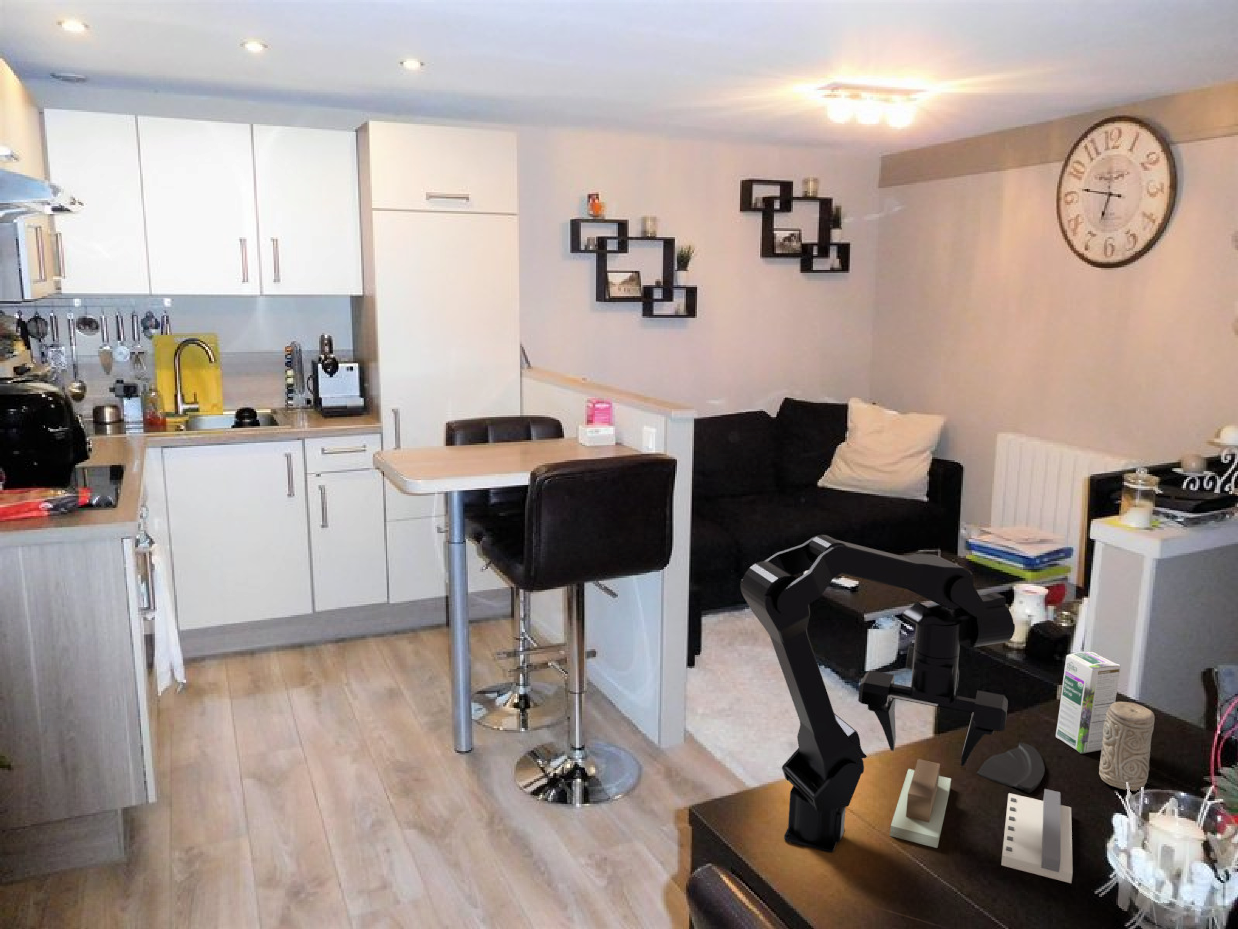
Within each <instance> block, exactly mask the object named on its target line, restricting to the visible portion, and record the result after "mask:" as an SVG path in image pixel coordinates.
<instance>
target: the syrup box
mask: <svg viewBox="0 0 1238 929" xmlns="http://www.w3.org/2000/svg"><path fill="white" fill-rule="evenodd" d="M1120 671H1121V664H1118V663H1116V662H1114V661H1111V660H1110V659H1107V658H1105V657H1104V656H1101V655H1099V654H1097V653H1096V652H1095V651H1080V652H1075V653H1074V652H1073V653H1069V654H1067V655H1066V656H1065V665H1064V671H1063V672H1064V673H1063V679H1062V689H1061V695H1060V703H1059V711H1058V717H1057V725H1056V731H1055V738H1057V739H1058V740H1060V741H1062V742H1063V743H1065V744H1066V745H1068V746H1069V747H1071V748H1073V749H1074V750H1075V751H1077V752H1078V753H1079V754H1086V753H1093V752H1097V751H1101V750H1102V746H1103V744H1102V741H1103V727H1104V722H1105V718H1106V712H1107V711H1108V708H1109V707H1110V706H1111V704H1113V703H1115V702H1117V701H1116V699H1117V698H1116V697H1117V693H1118V686H1119V678H1120Z"/></svg>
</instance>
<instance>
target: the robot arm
mask: <svg viewBox="0 0 1238 929" xmlns="http://www.w3.org/2000/svg"><path fill="white" fill-rule="evenodd" d="M803 572H806V573H804V574H803V575H801V576H799V577H796V576H795V575H798V574H801V573H803ZM840 575H845V576H849V577H853V578H858V579H861V580H865V581H866V580H867V581H871V582H875V583H880V584H884V585H888V586H892V587H894V588H895V587H896V588H900V589H904V590H909V591H910V592H912V593H914V594H916V595H919V597H923V598H925V599H927V600H928V601H930V602H933V603H935V604H934V605H926V604H924V603H921V602H919V601H915V602H914V604H913V605H911V606H910V607H909V608H907V609H906V610H904V611H903V612H902V617H903V618H904V619H906V620H907V621H910V622H911V623H912V624H915V632H914V635H915V636H914V643H913V644H914V646H908V647H907V655H906V662H905V669H907V670H911V681H910V682H911V683H910V686H907V685H902V684H896V683H895V682H896V681H895V680H896V679H895V674H891V673H886V672H880V671H876V670H875V671H874V670H869V671H867V672H866V673H865V674H864V676H863V677H862V680H861V682H860V684H859V689H858V697H857V698H858V699H857V700H858V701H857V702H859V703H860V704H862V705H867V710H868V711H871V712H873V713H874V714H875V715H876V716H875V717H876V718H877V719H878V721H879V723H880V726H881V727H882V729H883V730H882V731H883V733H884V735H885V738H886V741H887V743H888V746H889V747H888V748H889V750H890V751H892V752H894V751H895V747H896V738H897V736H896V732H897V731H896V730H897V729H896V711H895V710H896V700H901V701H905V702H910V703H915V704H920V705H924V706H926V705H927V706H931V707H936V708H941V709H947V710H951V711H957V712H961V713H962V712H963V713H965V714H966V713H967V714H970V715H971V718H970V722H969V726H968V730H967V734H966V736H965V741H964V745H963V749H962V752H961V753H962V754H961V759H960V766H961V767H965V766H966V763H967V762H968V760H969V758H970V756H971V755H972V752H973V751H974V749H975V747H976V746H977V745H978V743H979V742H980V741H981V740H982V738H983V737H984V736H986V735H988V736H992V735H994V731H996V732H1004V731H1005V729H1006V722H1007V721H1006V720H1007V714H1008V712H1007V711H1008V705H1009V704H1008V702H1009V701H1008V699H1007V697H1006V696H1005V695H1004V694H998V693H992V692H989V691H982V690H977V691H976V695H975V698H970V697H966V696H965V697H964V696H960V695H956V692H957V691H958V687H959V678H960V677H959V676H960V670H959V659H960V658H959V656H960V647H961V644H962V645H963V646H964V647H966V648H976V647H983V646H990V645H996V644H997V645H998V644H1003V643H1007V642H1009V641H1011V639H1012V638H1013V636H1014V635H1015V630H1016V625H1015V623H1014V618H1013V615H1012V613H1011V611H1010V609H1009V608H1008V607H1007V605H1006V601H1007V599H1006V597H1005V596H1004V595H1001V594H999V593H997V592H990V593H987V594H984V595H980V594H979V593H978V592H979V591H977V589H976V588H975V586H974V584H975V583H974V578H973V573H972V572H971V570H969V569H967V568H965V567H963V566H961V565H959V564H957V563H954V562H952V561H950V560H948V559H945V558H943V557H941V556H939V555H936V554H927V553H926V554H924V553H922V554H920V553H914V554H911V555H900V554H899V555H898V554H895V553H890V552H886V551H883V550H878V549H874V548H872V547H871V548H870V547H868V546H867V547H866V546H862V545H858V544H855V543H851V542H848V541H847V542H846V541H842V540H839V539H836V538H833V537H831V536H829V535H827V534H820V535H818V534H817V535H815V536H813V537H811V538H810V539H808V540H807V541H805V542H804V543H802V544H799V545H797V546H794V547H790V548H788V549H784V550H781V551H778V552H776V553H774V554H773V555H772V556H769V558H767V559H765V560H764V561H762V560H761V561H759V562H756V563H754V564H752V565H751V566H750V567H749V568H747V571H745V573H744V575H743V577H742V579H741V580H740V592H741V594H742V596H743V599H745V601H746V604H747V605H748V607H749V608H750V610H751V612H752V613H753V615H754V616H755V617H756V618H757V620H758V621H759V623H760V624H761V625H762V626H763V629H765V631H766V632H767V634H768V635H769V637H770V640H771V644H772V646H773V649H774V652H775V654H776V657H777V661H778V663H779V666H780V668H781V672H782V674H783V675H782V676H783V677H784V681H785V684H786V686H787V689H788V691H789V694H790V698H791V700H792V702H793V705H794V706H793V707H794V708H795V711H796V714H797V717H798V719H799V724H800V725H799V729H798V732H797V737H796V738H797V745H798V748H797V749H796V750H795V751H794V752H793V753H792V754H791V756H790V757H789V758H788V759H787V760H786V761H785V762H784V763H783V765H782V766H781V769H782V773H783V776H784V778H785V780H786V781H788V782H789V783H790V784H791V786H792V787H791V789H790V792H789V804H788V805H789V806H788V821H787V822H788V824H787V826H788V827H787V829H786V830H785V832H784V835H783V839H784V841H786V842H789V843H794V844H795V845H800V846H804V847H807V848H811V849H814V850H818V851H821V852H826V853H829V854H831V853H834V850H836V849H835V848H836V846H837V843H840V842H841V840H842V838H843V836H844V832H845V821H846V808H847V807H849V806H850V804H851V801H852V799H853V797H854V794H855V791H856V789H857V786H858V784H859V781H860V778H861V775H862V774H864V771H865V764H864V763H865V762H864V760H863V759H866V758H867V757H868V756H867V755H866V753H865V752H864V751H863V749H862V746H861V739H860V735H859V733H858V731H857V730H855V729H854V728H853V727H852V726H851V725H850V724H848V723H847V722H846V721H845V720H844V719H843V718H841V717H840V716H839V715H837V714H836V713H835V711H834V709H833V705H832V703H831V700H830V697H829V694H828V691H827V688H826V685H825V682H824V679H823V676H822V673H821V670H820V666H819V664H818V660H817V658H816V654H815V652H814V649H813V646H812V642H811V641H810V638H809V634H808V624H809V620H810V616H811V610H810V604H812V603H813V602H815V601H816V600H818V599H820V597H822V596H823V594H824V593H825V592H826V589H828V587H829V586H830V584H831V582H832V581H833V579H835V578H836V577H838V576H840Z"/></svg>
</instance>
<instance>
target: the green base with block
mask: <svg viewBox="0 0 1238 929" xmlns="http://www.w3.org/2000/svg"><path fill="white" fill-rule="evenodd" d="M915 765H916V766H915V768H914V769H911V768H908V770H907V771H906V772H907V773H906V775H905V779H904V782H903V785H902V788H901V791H900V794H899V798H898V801H897V805H896V808H895V810H894V811H895V812H894V813H893V817H892V819H891V820H892V821H891V824H890V832H889V836H890V837H893V838H897V839H899V840H900V839H901V840H905V841H909V842H912V843H916V844H918V845H919V844H920V845H924V846H928V847H931V848H936V849H937V848H938V846H939V844H940V843H939V841H940V837H941V833H942V828H943V823H944V819H945V816H946V815H945V814H946V810H947V804H948V799H949V796H950V792H951V791H950V790H951V784H952V778H950V777H945V776H941V775H940V767H941V763H938V762H933V761H929V760H925V759H921V758H917V761H916V764H915Z"/></svg>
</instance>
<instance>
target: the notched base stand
mask: <svg viewBox="0 0 1238 929" xmlns="http://www.w3.org/2000/svg"><path fill="white" fill-rule="evenodd" d="M1043 792H1044V793H1043V799H1042V800H1040V799H1036V798H1032V797H1027V796H1022V795H1019V794H1015V793H1010V792H1009V793H1008V794H1007V804H1006V805H1007V806H1006V816H1005V825H1004V832H1003V833H1004V836H1003V843H1002V854H1001V866H1003V867H1007V868H1011V869H1014V870H1018V871H1023V872H1025V873H1030V874H1035V875H1038V876H1042V877H1045V878H1049V879H1052V880H1058V881H1061V882H1065V883H1069V884H1072V881H1073V872H1074V871H1073V839H1072V838H1073V836H1072V835H1073V832H1072V827H1073V826H1072V806H1071V807H1070V806H1066V805H1063V804H1061V792H1060V791H1055V790H1051V789H1048V788H1047V789H1046V788H1044V790H1043Z"/></svg>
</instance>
